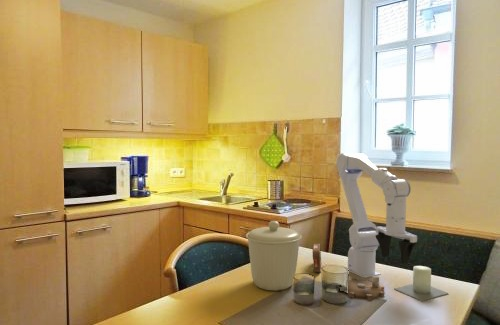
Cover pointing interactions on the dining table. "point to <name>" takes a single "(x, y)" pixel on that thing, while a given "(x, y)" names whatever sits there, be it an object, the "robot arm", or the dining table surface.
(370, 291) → the sprocket wheel
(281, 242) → the canister
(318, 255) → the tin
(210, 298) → the dining table surface
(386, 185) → the robot arm
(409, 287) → the slate mat
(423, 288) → the sage can
